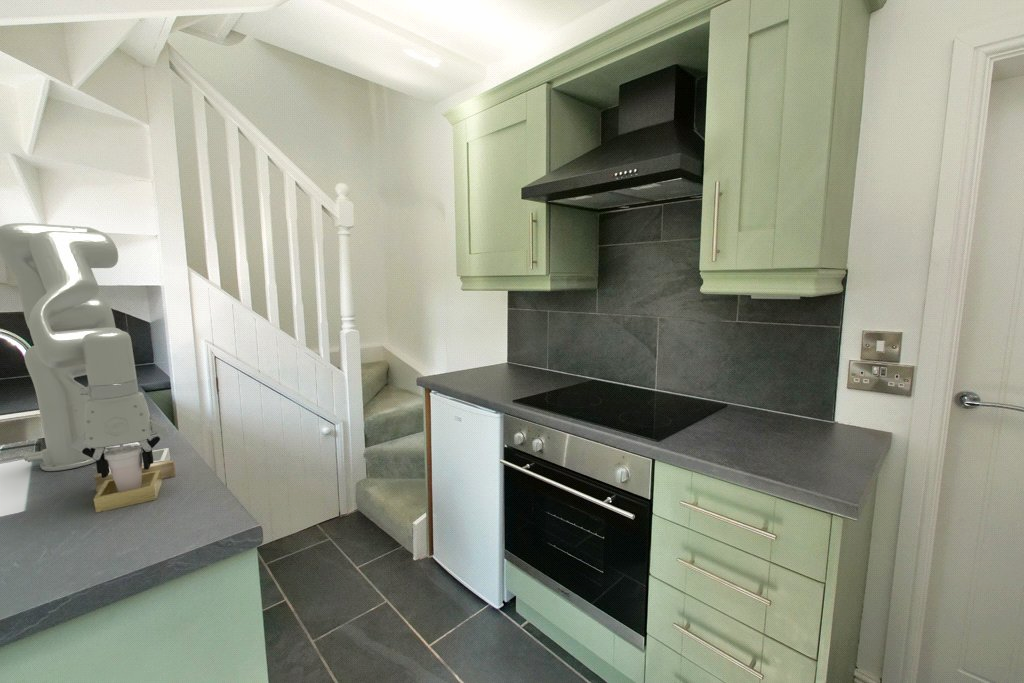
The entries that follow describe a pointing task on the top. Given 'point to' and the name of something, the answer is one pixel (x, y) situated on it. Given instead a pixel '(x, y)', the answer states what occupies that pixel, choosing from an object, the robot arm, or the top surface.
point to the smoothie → (126, 466)
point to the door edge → (165, 468)
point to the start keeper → (160, 455)
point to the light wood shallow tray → (128, 493)
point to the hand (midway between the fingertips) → (127, 470)
